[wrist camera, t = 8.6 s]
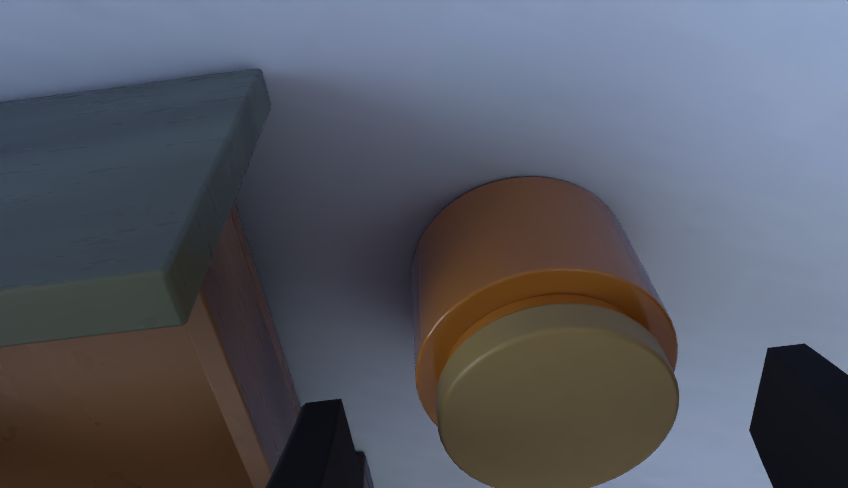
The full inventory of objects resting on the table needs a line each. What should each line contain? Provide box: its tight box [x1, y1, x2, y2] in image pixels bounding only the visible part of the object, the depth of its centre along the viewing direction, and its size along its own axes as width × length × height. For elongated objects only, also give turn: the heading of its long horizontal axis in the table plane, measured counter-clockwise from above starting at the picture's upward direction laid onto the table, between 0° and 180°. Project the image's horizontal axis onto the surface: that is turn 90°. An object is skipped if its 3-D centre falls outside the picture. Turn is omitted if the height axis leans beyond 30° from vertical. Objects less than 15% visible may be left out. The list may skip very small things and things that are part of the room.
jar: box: [411, 177, 679, 488], centre depth 13 cm, size 5×5×4 cm
